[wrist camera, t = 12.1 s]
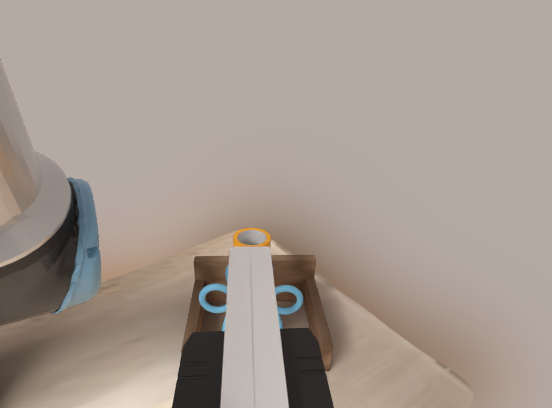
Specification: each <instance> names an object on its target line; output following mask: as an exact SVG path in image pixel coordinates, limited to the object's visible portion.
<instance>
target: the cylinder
mask: <svg viewBox="0 0 552 408" xmlns="http://www.w3.org/2000/svg"><path fill="white" fill-rule="evenodd" d="M270 242H271V237H270V234H269V233H268V232H266V231H264V230H262V229H258V228H245V229H242V230H239V231H237V232H236V233H235V234H234V236H233V247H266V246H270ZM228 266H229V265H228ZM228 266H227V267H226V272H225V274H226V280H227V284H228ZM272 268H273V266H272ZM214 290H218V291H222V292H224V293H226V294H227V286H226V285H223V284H218V283H215V284H210V285H207V286H205V287H204V288H203V289H202V290H201V292H200V294H199V302H200V304H201V306H202V307H203V308H204V309H205V310H207V311H209V312H212V313H224V312H226V305H224V306H220V307H216V306H212V305H210V304H209V303H208V302H207V301H206V295H207V293H209V292H210V291H214ZM281 292H291V293H293V294H294V295H295V296H296V298H297V301H296V303H295V304H294V305H293V306H291V307H288V308H281V307H279V306H277V311H278V319H279V328H280V329H283V325H282V321H281V318H280V315H279V314H283V315H287V314H292V313H294V312H296V311H298V310H299V309H300V308H301V306H302V304H303V295H302V293H301V291H300V290H299V289H297V288H296V287H294V286H291V285H280V286H277V287H275V294H276V295H277V294H278V293H281ZM225 318H226V317H225ZM222 331H225V319H224V322H223V327H222Z"/></svg>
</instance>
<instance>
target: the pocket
mask: <svg viewBox="0 0 552 408" xmlns="http://www.w3.org/2000/svg"><path fill="white" fill-rule="evenodd" d="M271 260H272V266H273V277H274V285H275V287H277V286H280V285H291V286H294V287H296V288H297V289H299V290H300V291H301V293H302V295H303V300H304V304H305V309H306V314H307V318H308V323H309V327H310V331H311V332H312V333H313V335H314V336H315V337H316V339H317V340H318V342H319V346H320V351H321V355H322V360H323V364H324V368H325V371H329V370H330V363H331V357H332V350H333V344H332V340H331V337H330V333H329V329H328V326H327V322H326V319H325V315H324V311H323V308H322V304H321V301H320V297H319V293H318V290H317V286H316V283H315V279H314V274H315V265H316V258H315V255H272V256H271ZM228 265H229V256H195V258H194V271H195V283H194V289H193V294H192V299H191V304H190V309H189V314H188V319H187V325H186V330H185V335H184V340H183V345H182V350H183V346H184V344H185V343H186V341H187V340H188V338H189V337H190V335H191V334H192V332H201V331H202V324H203V317H204V310H205V309H204V308H203V307H202V306H201V304H200V302H199V294H200V292H201V290H202V289H203V288H204V287H205V286H207V285H210V284H215V283H218V284H223V285H226V286H227V280H226V274H225V272H226V267H227V266H228ZM289 300H297V298H296V296H295V295H294V294H293V293H291V292H281V293H278V294H277V295H276V301H289ZM206 301H207V302H226V301H227V294H226V293H224V292H222V291H218V290H214V291H210V292H209V293H207V295H206ZM182 350H181V353H182Z"/></svg>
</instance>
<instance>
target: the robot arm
mask: <svg viewBox="0 0 552 408" xmlns="http://www.w3.org/2000/svg"><path fill="white" fill-rule="evenodd" d="M98 248H99V235H98V225H97V218H96V212H95V205H94V200H93V195H92V191H91V188H90V185H89V184H88V182H86V181H84V180H81V179H73V178H66V176H65V174H64V172H63V171H62V169H61V168H60V167H59V166H58V165H57V164H56V163H55V162H53V161H52V160H51V159H49V158H47V157H46V156H44V155H42V154H40V153H38V152H35V151H34V150H33V147H32V144H31V142H30V139H29V137H28V133H27V131H26V128H25V125H24V123H23V120H22V117H21V114H20V112H19V109H18V107H17V103H16V101H15V98H14V95H13V93H12V90H11V87H10V84H9V82H8V79H7V76H6V74H5V71H4V68H3V65H2V63H1V60H0V326H1V325H5V324H8V323H12V322H16V321H20V320H24V319H28V318H32V317H35V316H39V315H43V314H47V313H53V314H55V313H60V312H61V311H63V310H64V309H66V308H68V307H72V306H75V305H78V304H81V303H85V302H87V301H89V300H91V299H92V298H93V297H94V296H95V295H96V294H97V292H98V291H99V288H100V284H101V259H100V251H99V249H98ZM172 408H334V407H333V402H332V398H331V394H330V389H329V385H328V381H327V376H326V373H325V368H324V364H323V360H322V355H321V351H320V346H319V342H318V340H317V339H316V337H315V336H314V335H313V333H312V332H311V331H310V329H309V328H288V329H280V328H279V319H278V311H277V302H276V294H275V285H274V277H273V268H272V260H271V251H270V246H266V247H230V249H229V266H228V284H227V301H226V318H225V331H214V332H192V334H191V335H190V337H189V338H188V340H187V341H186V343H185V344H184V346H183V350H182V356H181V361H180V367H179V372H178V380H177V383H176V389H175V394H174V400H173V405H172Z"/></svg>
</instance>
